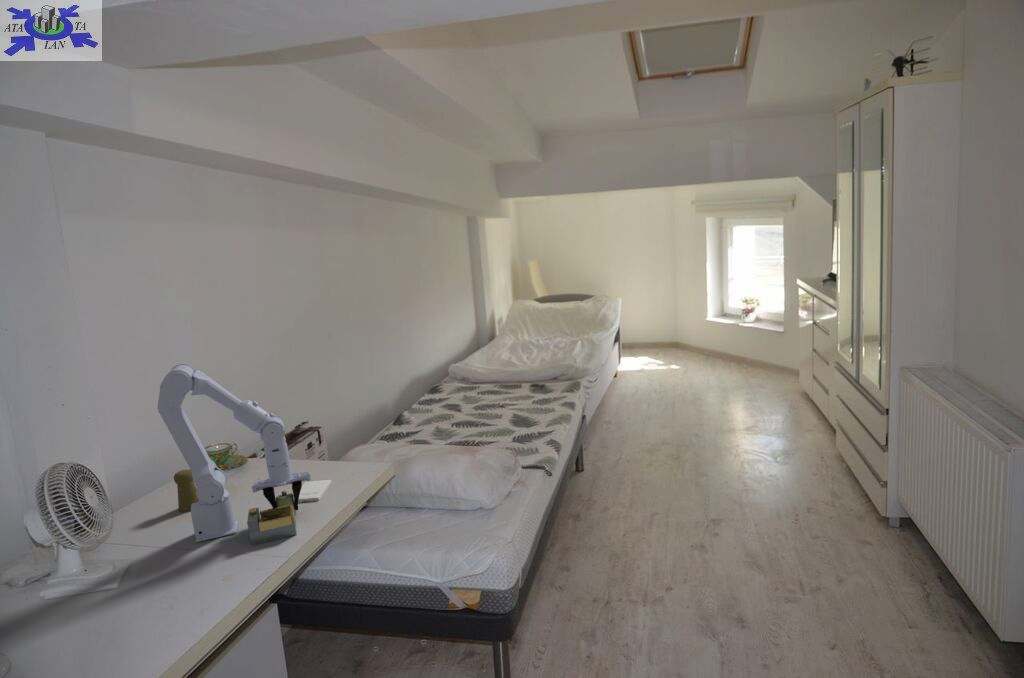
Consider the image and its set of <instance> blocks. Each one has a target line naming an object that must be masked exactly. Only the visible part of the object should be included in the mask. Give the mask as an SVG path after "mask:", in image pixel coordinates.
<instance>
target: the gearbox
mask: <svg viewBox="0 0 1024 678" xmlns="http://www.w3.org/2000/svg"><path fill="white" fill-rule="evenodd" d="M246 521H247V522H246V523H247V524H246V525H247V529H248V533H249V534H248V535H249V539H250V540H249V541H250V545H251V546H254V545H258V544H263V543H268V542H272V541H276V540H280V539H285V538H289V537H293V536H297V520H296V516H295V514H294V508H293V504H290V505H285V506H281V507H276V508H273V507H271V508H269V509H268V508H267V509H263V510H260V509H259V507H253V508H250V509H248V513H247V520H246Z"/></svg>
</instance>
